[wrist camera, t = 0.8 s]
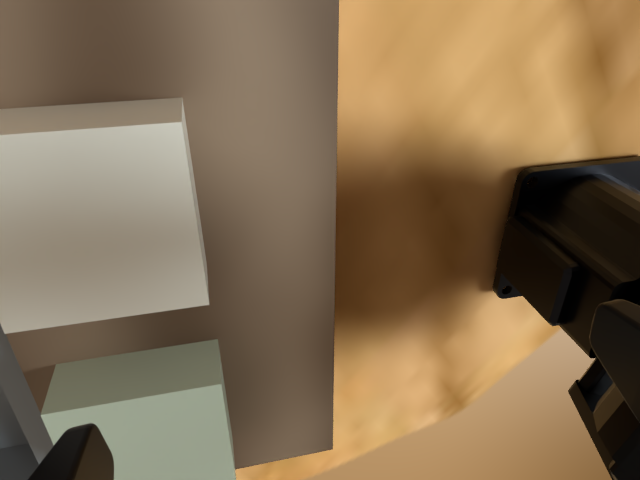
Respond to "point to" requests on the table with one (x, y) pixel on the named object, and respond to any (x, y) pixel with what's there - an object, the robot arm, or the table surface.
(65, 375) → the sage tile
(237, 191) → the taupe pedestal platform
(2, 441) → the box
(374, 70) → the table surface
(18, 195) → the cream tile
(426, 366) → the table surface
